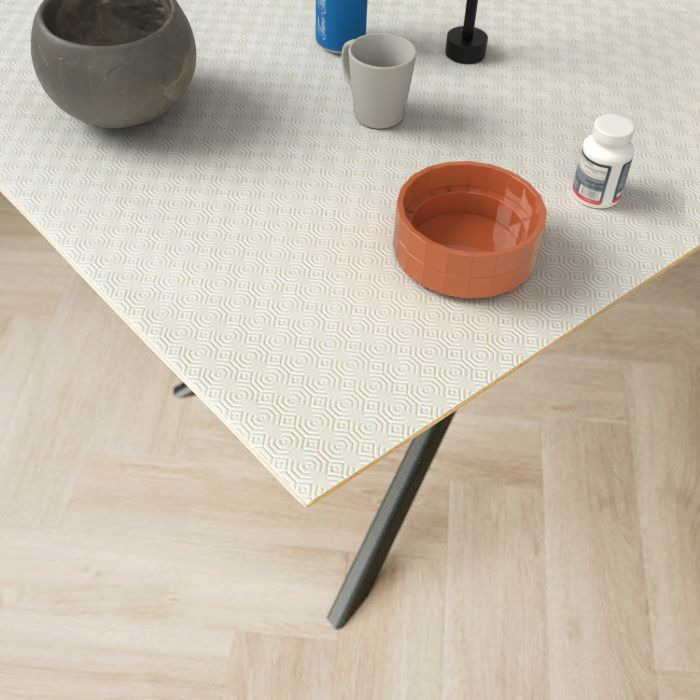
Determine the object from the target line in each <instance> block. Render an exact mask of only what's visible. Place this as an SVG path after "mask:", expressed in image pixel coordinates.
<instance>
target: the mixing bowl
mask: <svg viewBox="0 0 700 700" xmlns="http://www.w3.org/2000/svg"><path fill="white" fill-rule="evenodd" d="M395 204H396V205H395V215H394V216H395V217H394V231H393V240H392V243H393V244H392V245H393V251H394V256H395V259H396V261H397V262H398V264H399V265H400V267H401V269H402V270H403V271H404V273H406V275H407V276H409V277H410V278H411V279H412V280H414V281H415V282H417V284H419V285H421V286H422V287H423V288H427V289H429V290H431V291H433V292H435V293H437V294H441V295H444V296H449V297H456V298H460V299H467V300H468V299H485V298H486V299H489V298H493V297H497V296H500V295H503V294H506V293H510V292H511V291H513V290H515V289H517V288H518V287H519V286H520V285H522V284H523V283H525V282H527V280H528V278H529V277H530V275H532V272H533V271H534V270H535V268H536V265H537V262H538V261H537V260H538V257H539V253H540V249H541V244H542V241H543V236H544V232H545V228H546V223H547V222H546V221H547V214H548V212H547V207H546V205H545V202H544V199H543V197H542V195H541V194H540V193H539V192H538V191H537V189H536V188H535V187H534V186H533V185H532V184H531V183H530V182H529V181H527V180H526V179H525V178H523V177H521V176H520V175H518V174H516V173H515V172H513V171H512V170H509V169H506V168H503V167H501V166H498V165H495V164H491V163H486V162H479V161H472V160H458V161H445V162H440V163H437V164H433V165H429V166H426V167H425V168H423V169H421V170H419V171H417V172H415V173H413V174H411V176H410V177H409V178H408V179H407V180H406V181H405V182H404V183H403V185H402V186H401V187H400V189H399V191H398V195H397V199H396V203H395Z"/></svg>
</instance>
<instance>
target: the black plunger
mask: <svg viewBox="0 0 700 700" xmlns="http://www.w3.org/2000/svg"><path fill="white" fill-rule="evenodd" d="M478 4H479V0H466V3H465V9H464V17H463V25H459V26H455V27H452V28H451V29H449V30H448V32H447V33H446V40H445V50H444V54H445V56H446V57H447V59H449V60H450V61H452V62H455V63H457V64H462V65H475V64H478V63H480V62H482V61H483V60H485V58H486V55H487V49H488V48H487V47H488V42H489V36H488V34H487V32H485V31H484V30H482V29H481V28H478V27H475V26H476V19H477V18H476V17H477V12H478V11H477V10H478V6H479V5H478Z"/></svg>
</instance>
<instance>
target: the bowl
mask: <svg viewBox="0 0 700 700" xmlns="http://www.w3.org/2000/svg"><path fill="white" fill-rule="evenodd" d="M197 55H198V54H197V44H196V39H195V35H194V31H193V28H192V26H191V24H190V21H189V19H188V16H186V13H185V11H184V10H183V8H182V7H181V5H180V4H179V2H178V1H177V0H42V1H41V3H40V4H39V6H38V8H37V10H36V13H35V14H34V17H33V21H32V26H31V32H30V56H31V63H32V66H33V70H34V72H35V75H36V78H37V81H38V82H39V83H40V86H41V87H42V89H43V91H44V92H45V94H46V95H47V97H49V99H50V100H51V101H52V102H53V104H55V105H56V106H57V107H58V108H59V109H60V110H61V111H63V112H64V113H66V114H67V115H69V116H71V117H72V118H74V119H76V120H78V121H80V122H83V123H84V124H87V125H91V126H94V127H99V128H103V129H104V128H105V129H126V128H130V127H135V126H138V125H141V124H142V125H143V124H145V123H147V122H150V121H152V120H154V119H157V118H158V117H160V116H162V115H163V114H164V113H166V112H167V111H168V110H170V109H171V108H172V107H173V106H174V105H175V104H176V103H178V101H180V99H181V98H182V97H183V96H184V94H185V93H186V92H187V91H188V88H189V87H190V85H191V83H192V81H193V78H194V74H195V71H196V66H197V57H198V56H197Z"/></svg>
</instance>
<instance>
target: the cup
mask: <svg viewBox="0 0 700 700" xmlns="http://www.w3.org/2000/svg"><path fill="white" fill-rule="evenodd" d="M417 55H418V51H417V48H416V46H415V45H414V44H413V42H412V41H410V40H409V39H408V38H405V37H403V36H401V35H397V34H393V33H386V32H373V33H366V35H364V36H361V37H359V38H357V39H352V40H350V41H348V42H346V43H345V44H344V46H343V49H342V54H341V57H340V58H341V68H342V71H343V75H344V78H345V80H346V82H347V84H348V86H349V88H350V89H351V93H352V94H351V95H352V103H353V110H354V117H355V119H356V120H357V121H358V122H359V123H360V124H361V125H363V126H365V127H368V128H371V129H378V130H382V129H383V130H385V129H389V128H392V127H395V126H397V125H398V124H400V123H401V122H402V120H403V117H404V114H405V109H406V107H407V106H406V105H407V101H408V97H409V93H410V89H411V85H412V79H413V74H414V69H415V65H416V59H417Z"/></svg>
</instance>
